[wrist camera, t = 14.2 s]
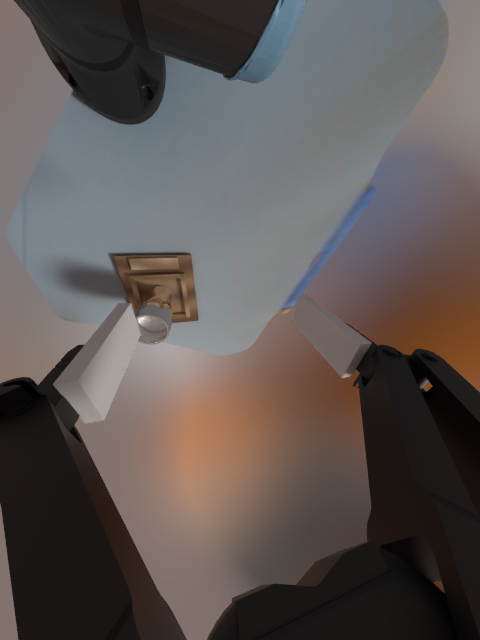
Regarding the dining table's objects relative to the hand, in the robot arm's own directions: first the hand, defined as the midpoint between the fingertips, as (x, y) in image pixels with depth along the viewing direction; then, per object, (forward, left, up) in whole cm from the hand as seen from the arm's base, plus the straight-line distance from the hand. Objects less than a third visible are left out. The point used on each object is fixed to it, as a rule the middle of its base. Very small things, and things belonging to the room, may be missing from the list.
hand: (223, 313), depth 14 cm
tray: (+11, -11, -32) cm, 36 cm away
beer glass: (+11, -11, -31) cm, 35 cm away
